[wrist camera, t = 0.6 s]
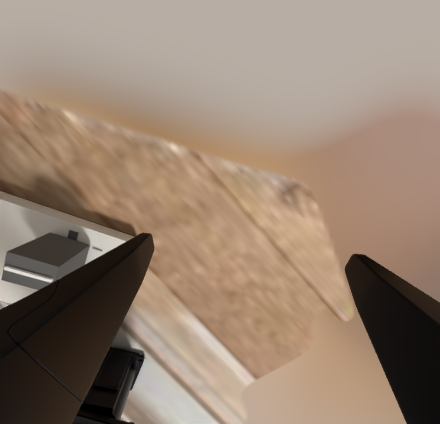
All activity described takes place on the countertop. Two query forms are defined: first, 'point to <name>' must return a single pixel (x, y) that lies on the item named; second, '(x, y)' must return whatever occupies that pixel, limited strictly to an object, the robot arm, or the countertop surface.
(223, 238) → the countertop surface
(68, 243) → the block
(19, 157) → the countertop surface
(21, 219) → the panel
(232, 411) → the countertop surface
